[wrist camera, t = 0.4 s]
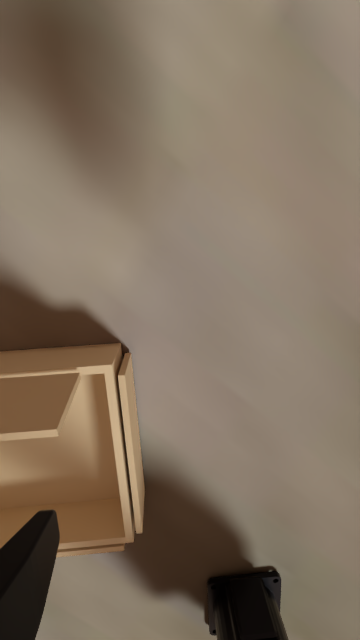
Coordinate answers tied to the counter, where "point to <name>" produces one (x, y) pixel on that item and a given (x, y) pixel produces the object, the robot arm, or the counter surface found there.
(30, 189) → the counter surface
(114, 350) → the carton
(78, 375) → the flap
